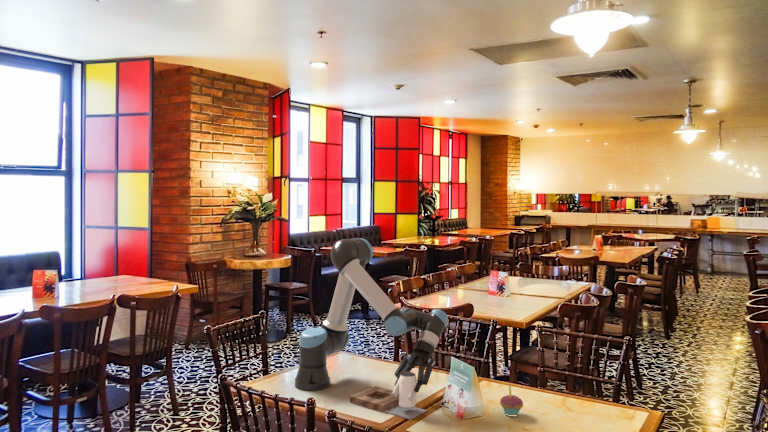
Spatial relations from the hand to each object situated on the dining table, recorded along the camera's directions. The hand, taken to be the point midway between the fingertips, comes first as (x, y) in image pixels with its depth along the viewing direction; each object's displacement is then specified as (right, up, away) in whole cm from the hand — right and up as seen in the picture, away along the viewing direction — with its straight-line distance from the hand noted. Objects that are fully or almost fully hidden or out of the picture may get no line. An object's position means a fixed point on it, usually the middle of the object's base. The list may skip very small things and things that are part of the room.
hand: (402, 396), depth 214 cm
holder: (-9, -6, +14) cm, 17 cm away
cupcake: (+41, -8, +3) cm, 42 cm away
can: (+2, -4, +3) cm, 6 cm away
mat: (+2, -7, +3) cm, 8 cm away
